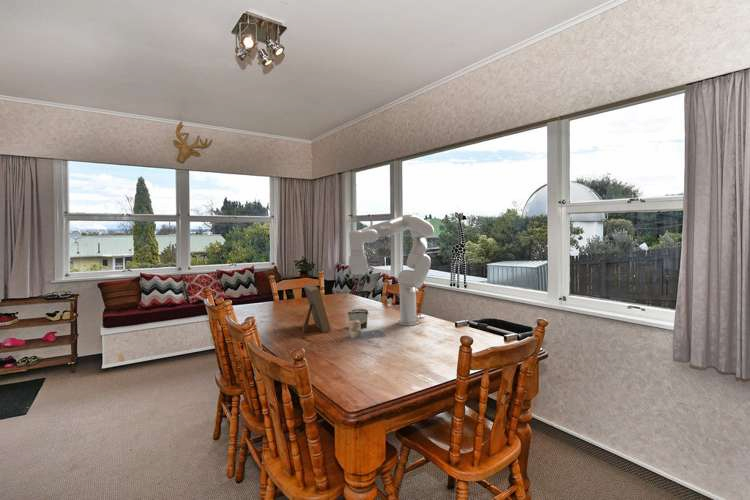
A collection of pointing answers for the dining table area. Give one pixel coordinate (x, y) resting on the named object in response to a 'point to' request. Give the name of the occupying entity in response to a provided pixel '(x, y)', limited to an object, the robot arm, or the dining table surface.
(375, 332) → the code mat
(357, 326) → the birch block
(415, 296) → the robot arm
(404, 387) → the dining table surface
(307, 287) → the photo frame
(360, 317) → the food container
